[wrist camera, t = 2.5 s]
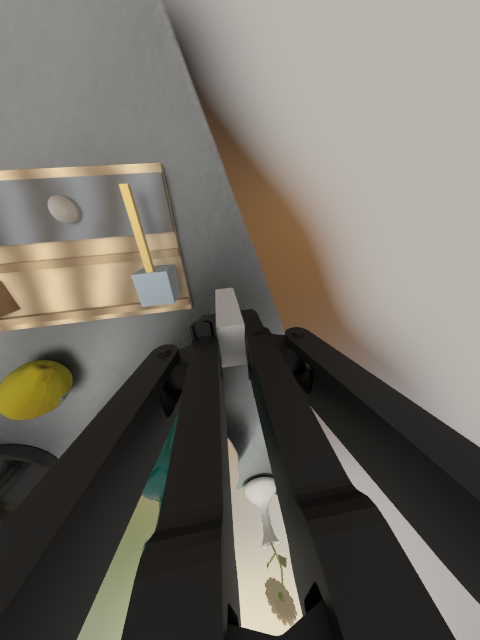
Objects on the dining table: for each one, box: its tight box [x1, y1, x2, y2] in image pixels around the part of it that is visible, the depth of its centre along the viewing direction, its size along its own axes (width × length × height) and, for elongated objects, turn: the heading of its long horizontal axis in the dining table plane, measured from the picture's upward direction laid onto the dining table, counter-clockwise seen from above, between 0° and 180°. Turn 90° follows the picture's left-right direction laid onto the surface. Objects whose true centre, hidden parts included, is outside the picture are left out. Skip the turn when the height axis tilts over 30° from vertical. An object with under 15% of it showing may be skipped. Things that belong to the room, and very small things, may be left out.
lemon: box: [0, 360, 73, 420], centre depth 28 cm, size 11×8×8 cm
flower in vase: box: [243, 477, 297, 627], centre depth 50 cm, size 13×11×25 cm
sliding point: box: [119, 184, 181, 307], centre depth 22 cm, size 4×12×5 cm, turn 4°
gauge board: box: [0, 163, 192, 332], centre depth 22 cm, size 28×18×6 cm, turn 94°
